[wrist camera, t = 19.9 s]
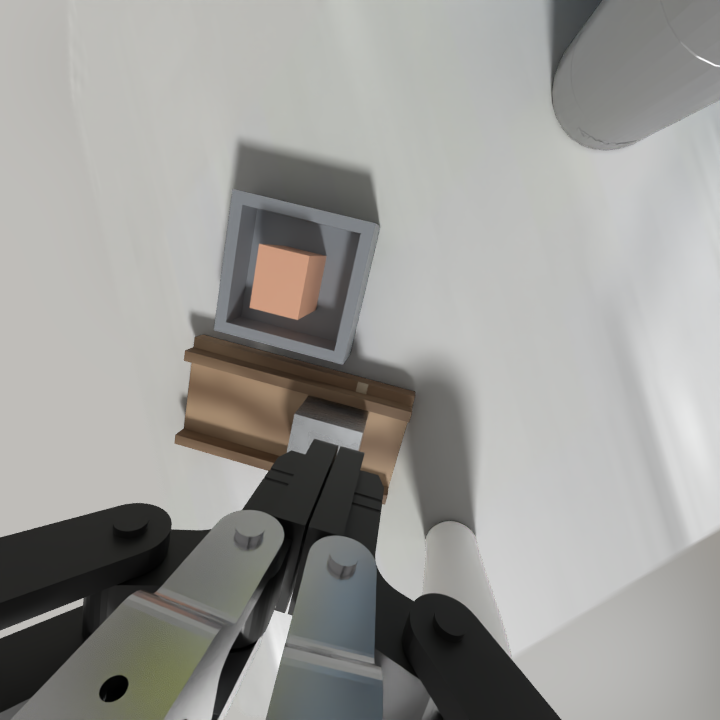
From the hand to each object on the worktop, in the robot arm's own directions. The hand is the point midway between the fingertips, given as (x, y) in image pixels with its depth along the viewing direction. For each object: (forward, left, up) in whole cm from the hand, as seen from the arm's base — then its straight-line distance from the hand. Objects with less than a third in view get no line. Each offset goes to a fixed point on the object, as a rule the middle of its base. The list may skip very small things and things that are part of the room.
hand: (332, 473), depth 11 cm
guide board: (+12, -7, -27) cm, 30 cm away
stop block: (-2, -9, -26) cm, 28 cm away
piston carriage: (+12, -3, -25) cm, 28 cm away
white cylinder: (+21, +12, -27) cm, 36 cm away
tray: (-2, -9, -27) cm, 29 cm away
